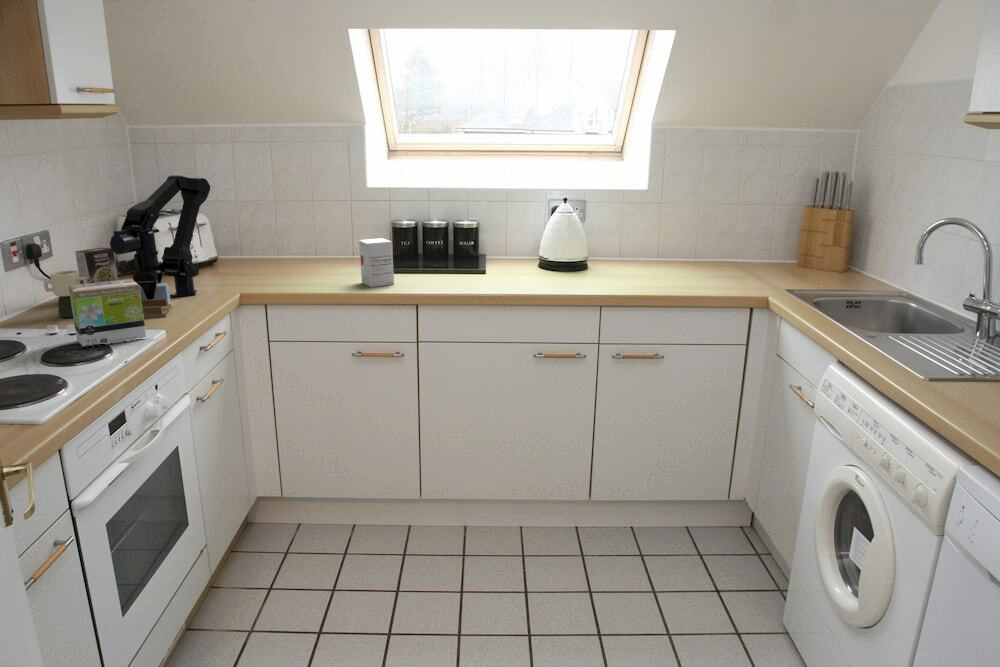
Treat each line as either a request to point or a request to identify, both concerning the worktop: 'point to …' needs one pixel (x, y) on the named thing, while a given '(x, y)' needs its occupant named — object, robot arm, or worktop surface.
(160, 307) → the walnut rack
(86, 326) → the tea box
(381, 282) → the supplement box
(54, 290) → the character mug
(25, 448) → the worktop surface
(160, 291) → the pale blue cuboid
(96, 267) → the coffee box
